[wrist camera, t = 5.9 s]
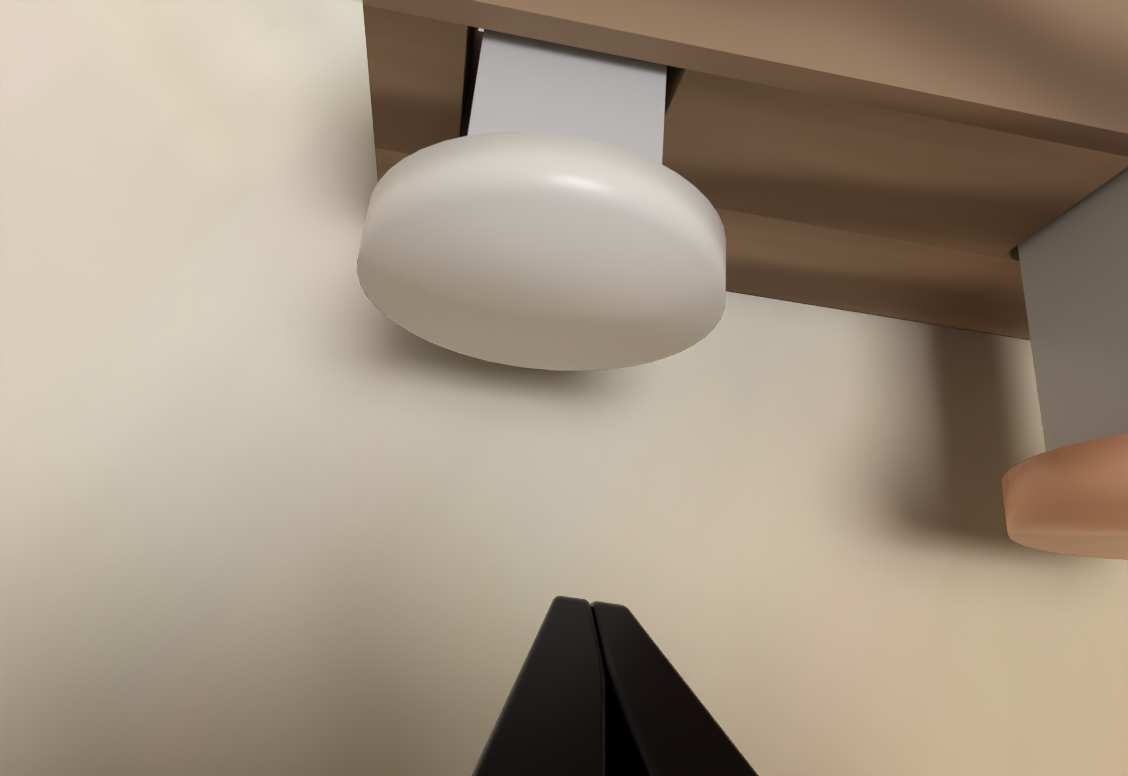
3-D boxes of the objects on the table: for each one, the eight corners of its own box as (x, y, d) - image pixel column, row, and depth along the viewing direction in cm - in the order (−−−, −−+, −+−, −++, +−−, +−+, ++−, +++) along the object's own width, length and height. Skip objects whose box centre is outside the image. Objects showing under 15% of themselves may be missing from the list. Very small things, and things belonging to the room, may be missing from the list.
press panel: (1091, 349, 25) (1418, 192, 17) (382, 235, 22) (360, -23, 14) (1072, 239, 26) (1366, 45, 18) (404, 118, 23) (396, -178, 15)
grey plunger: (663, 387, 19) (791, 238, 12) (368, 344, 18) (339, 160, 11) (675, 84, 22) (782, -160, 16) (426, 35, 21) (430, -246, 15)
